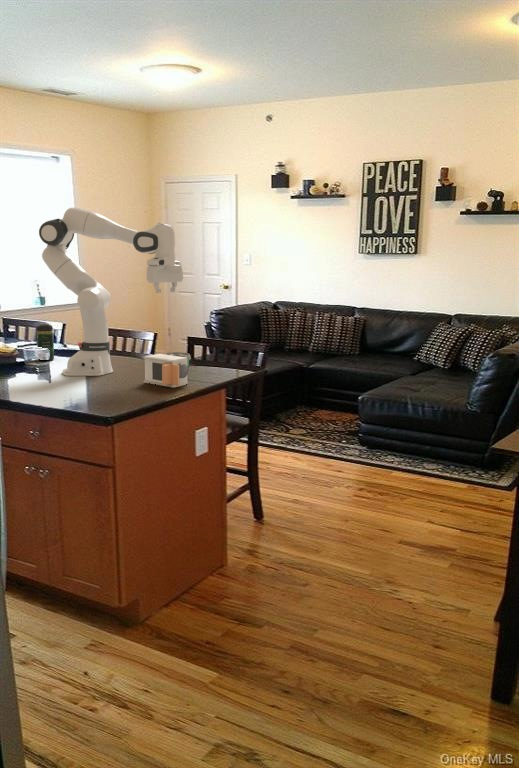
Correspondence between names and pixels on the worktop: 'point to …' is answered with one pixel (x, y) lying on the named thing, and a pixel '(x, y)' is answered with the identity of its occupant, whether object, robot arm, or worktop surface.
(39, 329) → the coffee jar
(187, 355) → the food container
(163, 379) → the side door
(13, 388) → the worktop surface
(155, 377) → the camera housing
